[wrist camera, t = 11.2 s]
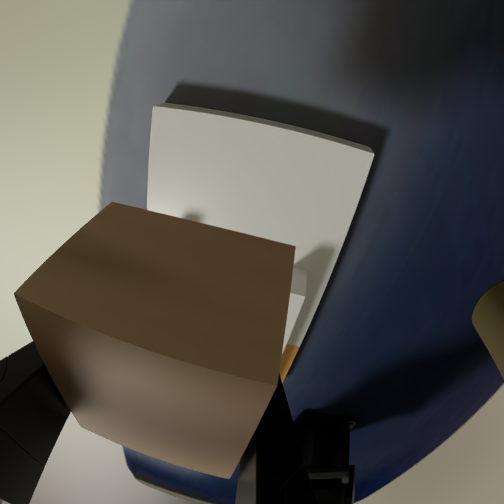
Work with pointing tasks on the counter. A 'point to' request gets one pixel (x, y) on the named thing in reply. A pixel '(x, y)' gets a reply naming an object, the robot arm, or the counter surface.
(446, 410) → the counter surface
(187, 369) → the walnut block
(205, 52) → the counter surface
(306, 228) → the white mounting bracket
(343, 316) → the counter surface
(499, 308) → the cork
